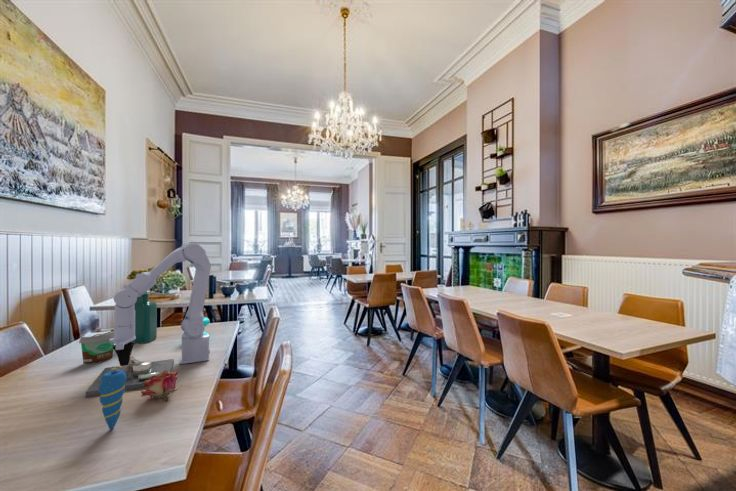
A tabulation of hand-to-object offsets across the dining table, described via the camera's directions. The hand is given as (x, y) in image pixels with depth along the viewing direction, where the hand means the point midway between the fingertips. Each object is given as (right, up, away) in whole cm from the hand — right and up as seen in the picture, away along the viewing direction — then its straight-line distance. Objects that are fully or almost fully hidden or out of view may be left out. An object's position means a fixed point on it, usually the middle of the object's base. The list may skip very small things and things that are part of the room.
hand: (124, 365), depth 109 cm
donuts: (+5, -3, +37) cm, 37 cm away
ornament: (+22, -3, -33) cm, 40 cm away
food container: (-17, -3, +12) cm, 21 cm away
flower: (+23, -3, -18) cm, 29 cm away
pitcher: (-19, -3, +36) cm, 41 cm away
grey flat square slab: (+6, -3, -4) cm, 8 cm away
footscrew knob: (+5, -1, -1) cm, 5 cm away
